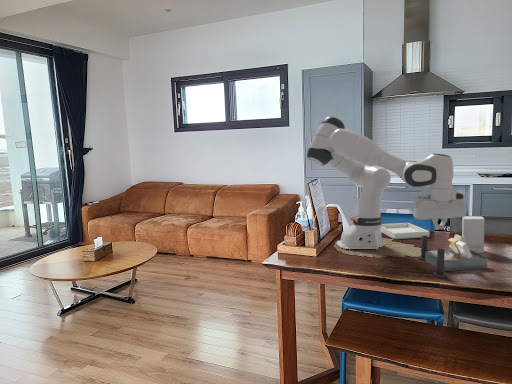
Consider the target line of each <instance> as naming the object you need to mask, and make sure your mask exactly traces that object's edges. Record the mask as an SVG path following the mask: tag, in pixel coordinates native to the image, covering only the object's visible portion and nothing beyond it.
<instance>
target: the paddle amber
mask: <svg viewBox="0 0 512 384" xmlns="http://www.w3.org/2000/svg"><path fill="white" fill-rule="evenodd" d="M447 241H448V242H449V245H451V247H452V248H451V250H453V251H454V252H455V253H457V254H459V255H461V253H460V251H459V249H458V247H457V245H456V243H457V242H458V240H456V239H454V237H450V238H449V239H448V240H447Z"/></svg>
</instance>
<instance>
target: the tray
mask: <svg viewBox="0 0 512 384" xmlns="http://www.w3.org/2000/svg"><path fill="white" fill-rule="evenodd" d="M381 234H384V235H386V236H387V237H390V238H391V239H393V240H402V239H415V238H416V239H417V238H418V239H421V236H422V235H426V236H428V238H430V231H429V230H427V229H424V228H422V227H420V226H417V225H415V224H412V223H410V222H399V223H398V222H397V223H395V222H394V223H382V224H381Z"/></svg>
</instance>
